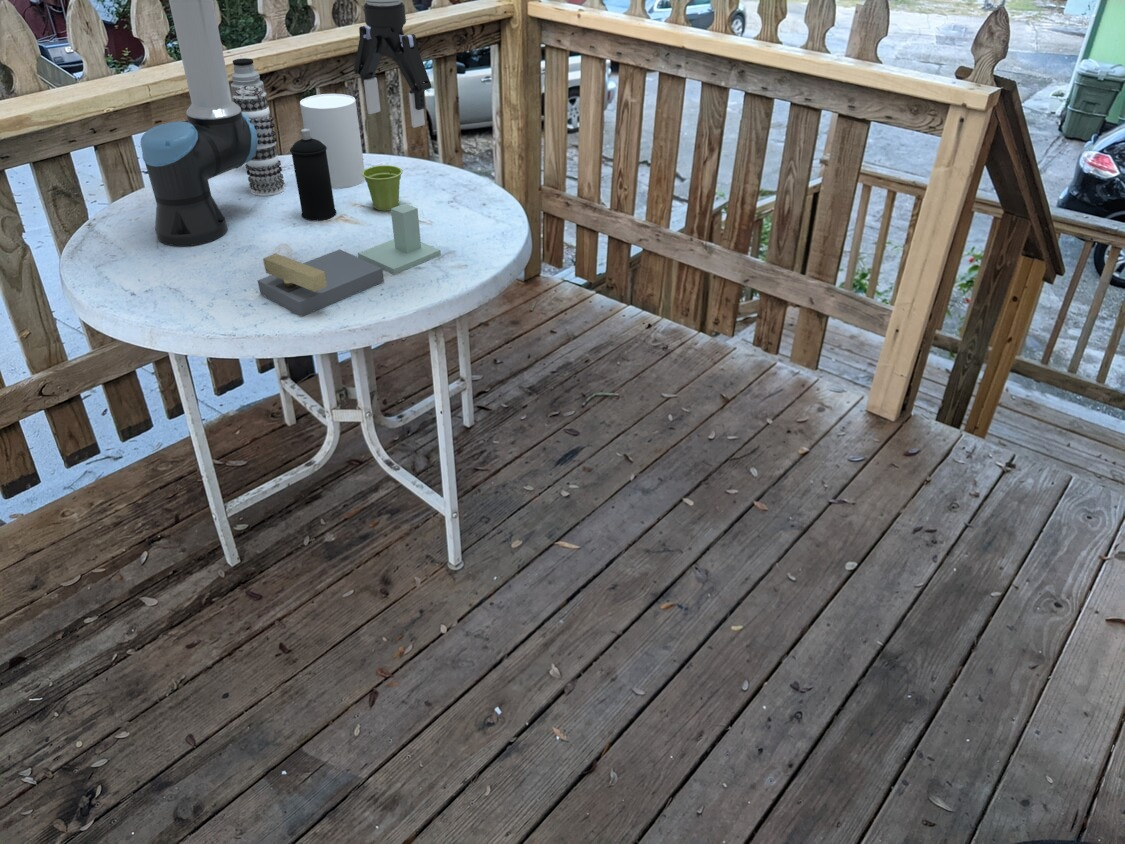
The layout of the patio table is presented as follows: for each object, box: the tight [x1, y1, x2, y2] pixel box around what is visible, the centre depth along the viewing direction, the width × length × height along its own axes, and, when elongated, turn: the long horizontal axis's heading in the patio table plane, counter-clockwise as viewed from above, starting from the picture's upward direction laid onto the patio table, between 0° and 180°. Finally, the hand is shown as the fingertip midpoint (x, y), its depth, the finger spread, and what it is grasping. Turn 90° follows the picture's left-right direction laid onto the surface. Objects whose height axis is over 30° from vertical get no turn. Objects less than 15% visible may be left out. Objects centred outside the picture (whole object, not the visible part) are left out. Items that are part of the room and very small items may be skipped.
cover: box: [357, 203, 442, 275], centre depth 183 cm, size 12×13×10 cm
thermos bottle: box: [230, 57, 273, 130], centre depth 222 cm, size 8×8×28 cm
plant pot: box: [362, 164, 403, 211], centre depth 207 cm, size 9×9×9 cm
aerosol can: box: [289, 128, 337, 221], centre depth 199 cm, size 8×8×20 cm
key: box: [262, 253, 327, 292], centre depth 164 cm, size 3×14×5 cm, turn 55°
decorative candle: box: [231, 86, 286, 197], centre depth 210 cm, size 9×9×25 cm
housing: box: [257, 249, 385, 317], centre depth 172 cm, size 14×20×3 cm
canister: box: [299, 93, 366, 190], centre depth 218 cm, size 14×14×20 cm
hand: (395, 119), depth 170 cm, fingers open, 13 cm apart
